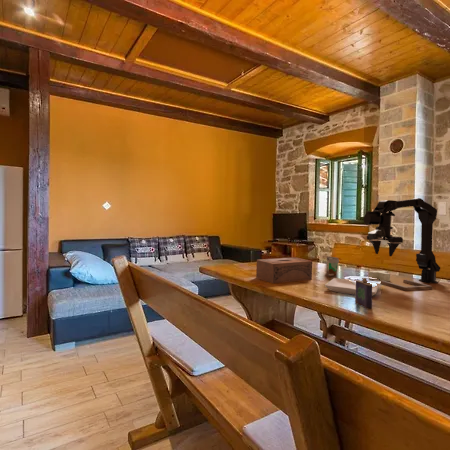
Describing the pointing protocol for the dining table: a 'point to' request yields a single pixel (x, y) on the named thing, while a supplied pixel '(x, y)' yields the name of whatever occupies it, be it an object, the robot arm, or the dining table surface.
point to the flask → (363, 293)
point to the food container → (332, 266)
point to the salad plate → (345, 286)
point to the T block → (380, 275)
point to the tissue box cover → (284, 270)
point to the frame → (417, 287)
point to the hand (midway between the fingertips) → (383, 255)
